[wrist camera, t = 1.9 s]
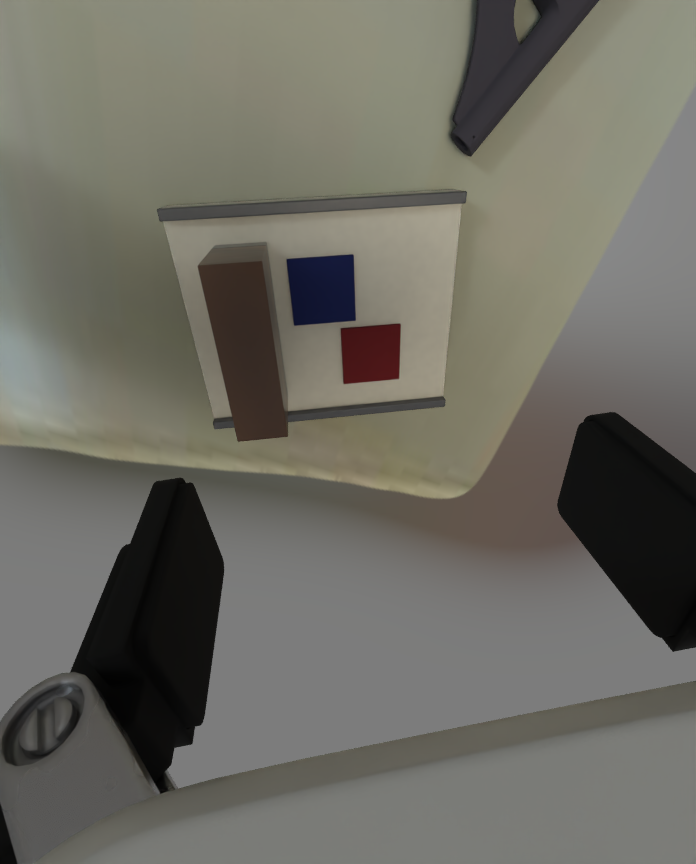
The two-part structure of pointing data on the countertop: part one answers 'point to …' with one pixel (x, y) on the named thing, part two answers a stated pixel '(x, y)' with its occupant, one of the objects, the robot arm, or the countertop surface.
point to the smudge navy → (322, 289)
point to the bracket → (508, 62)
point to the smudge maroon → (370, 353)
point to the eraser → (247, 337)
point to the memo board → (374, 290)
